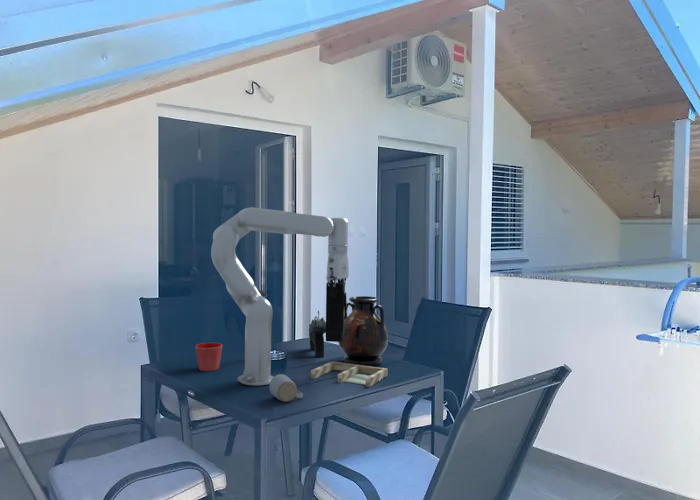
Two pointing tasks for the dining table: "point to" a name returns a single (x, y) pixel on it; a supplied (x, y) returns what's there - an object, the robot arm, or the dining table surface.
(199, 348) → the flower pot
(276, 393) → the ceramic mug
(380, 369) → the slot rack
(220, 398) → the dining table surface
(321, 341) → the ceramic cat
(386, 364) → the dining table surface
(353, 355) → the amphora vase
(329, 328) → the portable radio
